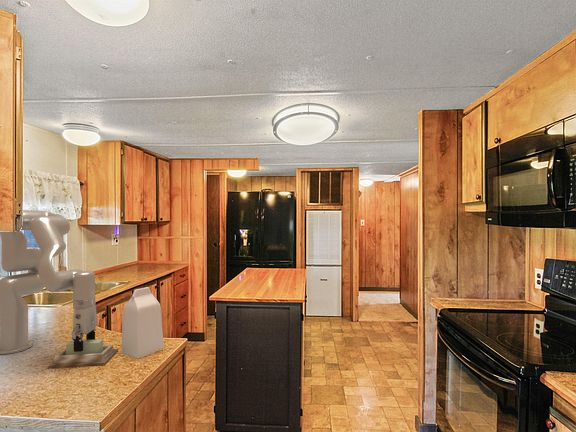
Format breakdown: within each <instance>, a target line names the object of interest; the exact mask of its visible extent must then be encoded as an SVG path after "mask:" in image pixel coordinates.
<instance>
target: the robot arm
mask: <svg viewBox="0 0 576 432" xmlns="http://www.w3.org/2000/svg"><path fill="white" fill-rule="evenodd" d="M23 231H30V232H31V235H32V236H33V237H34V240H35V241H36V244H37V246H38V247H39V248H36V247H34V248H33V247H31V248H29V247H28V239H27V236H26V235H25V234H24V232H23ZM70 231H71V225H70V222H69V220H68V219H67V218H66V217H64V216H62V215H60V214H58V213H57V214H56V213H54V212H50V211H47V210H26V209H23V226H22V229H21V231H20V232H0V239H1V240H0V241H1V242H0V243H1V244H0V245H1V246H0V247H1V248H0V250H1V251H0V254H1V255H0V259H1V260H0V262H1V269H2V270H3V271H4V272H6V273H17V272H23V271H27V272H25V273H18V274H12V275H6V276H4V277H2V278H0V355H9V354H11V355H12V354H16V353H18V352H22V351H26V350H28V349H30V348H32V347H33V346H34V341H31V340H29V305H28V303H27V301H26V300H25V299H24V298H23V296H27V295H33V294H36V293H39V292H41V291H43V290H44V289H46V290H47V291H49V292H51V293H58V292H59V293H60V292H64V291H68V290H72V308H73V317H72V331H71V333H70V334H71V339H72V340H73V342H74V352H81V351H83V340H84V335H86V337H85V340H96V329H97V327H98V316H97V306H96V273H95V272H94V271H92V270H82V269H76V268H75V269H69V270H64V271H58V272H56V269H55V268H54V265H53V262H52V260H53V258H55V257H57V256H59V255H60V254H61V253H63V252H64V251H66V249H67V244H66V243H65V241H64V239H63V236H65V235H67V234H68V233H69V232H70Z"/></svg>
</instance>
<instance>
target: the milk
mask: <svg viewBox="0 0 576 432" xmlns="http://www.w3.org/2000/svg"><path fill="white" fill-rule="evenodd" d="M162 318H163V317H162V308H161V304H160V302H159V301H158V299H157V298H156V297H155V296H154V294H153V293H152V291H151V289H150V287H147V286H146V287H141V288H136V289H134V290H133V293H132V295H131V297H130V299H129V300H128V301H127V302H126V303H125V304H124V306H123V309H122V323H121V324H122V326H121V344H120V345H121V348H120V352H121V354H124V355H125V356H128V357H131V358H135V359H137V360H139V359H141V358H143V357H144V358H145V357H146V356H149V355H152V354H154V353H156V352H159V351H161V350H164V349H165V346H164V345H165V344H164V333H163V331H164V330H163V320H162Z"/></svg>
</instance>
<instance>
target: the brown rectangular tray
mask: <svg viewBox="0 0 576 432" xmlns="http://www.w3.org/2000/svg"><path fill="white" fill-rule="evenodd" d="M117 353H119V349H118V348H116V349H115V348H114V345H113V344H109V345H108V344H106V345H104V344H103V352H102V353H96V354H78V355H66V348H65V349H63V350H62V351H61V352H59V353H58V354H56V355H55V356H54V358H53V360H54V361H52V362H51V363H50V364H48V365H47V369H49V368H51V369H65V368H67V369H68V368H83V367H97V366H99V367H100V366H105V365H106V364H107V363H108V362H110V361H111V360H112V358H114V356H115V355H117ZM49 370H50V369H49Z"/></svg>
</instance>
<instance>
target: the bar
mask: <svg viewBox="0 0 576 432" xmlns="http://www.w3.org/2000/svg"><path fill="white" fill-rule="evenodd" d="M82 340H83V351H81V352H74V342H73V339H72V340H70V341H69V342H67V343H66V344H65V349H66V355H78V354H96V353H102V352H103V345H104V339H102V338H101V339H95V340H86V339H82Z"/></svg>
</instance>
